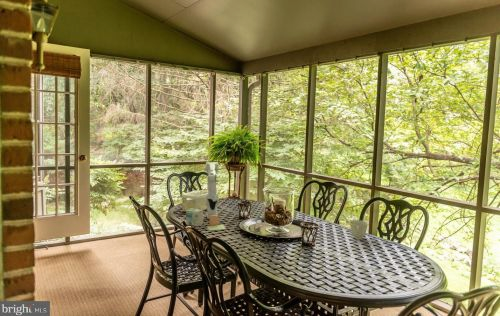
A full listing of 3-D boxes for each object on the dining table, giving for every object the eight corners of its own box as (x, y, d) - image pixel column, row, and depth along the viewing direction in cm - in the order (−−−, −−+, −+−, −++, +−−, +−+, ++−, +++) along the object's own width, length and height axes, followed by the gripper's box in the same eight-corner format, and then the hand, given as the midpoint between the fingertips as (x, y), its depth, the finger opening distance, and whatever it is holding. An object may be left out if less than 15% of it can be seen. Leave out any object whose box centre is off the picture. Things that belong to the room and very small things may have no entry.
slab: (209, 224, 255) (209, 215, 254) (217, 224, 257) (217, 214, 256) (210, 225, 252) (210, 216, 251) (218, 225, 254) (218, 215, 253)
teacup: (347, 241, 220) (347, 225, 219) (349, 234, 234) (349, 219, 233) (367, 243, 216) (368, 227, 215) (368, 236, 230) (368, 221, 229)
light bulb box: (186, 224, 255) (185, 210, 254) (190, 222, 261) (190, 208, 260) (198, 226, 251) (198, 211, 250) (203, 223, 257) (203, 209, 256)
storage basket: (198, 205, 313) (198, 189, 311) (213, 207, 305) (213, 191, 303) (180, 211, 292) (180, 194, 291) (196, 214, 284) (195, 196, 283)
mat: (206, 226, 250) (206, 226, 250) (222, 225, 254) (222, 224, 254) (209, 230, 241) (209, 230, 240) (226, 229, 244) (226, 228, 244)
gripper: (204, 189, 262) (205, 207, 264) (208, 192, 249) (208, 211, 250) (214, 188, 265) (214, 206, 266) (218, 192, 251) (218, 211, 252)
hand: (212, 209), depth 258 cm, fingers open, 4 cm apart
